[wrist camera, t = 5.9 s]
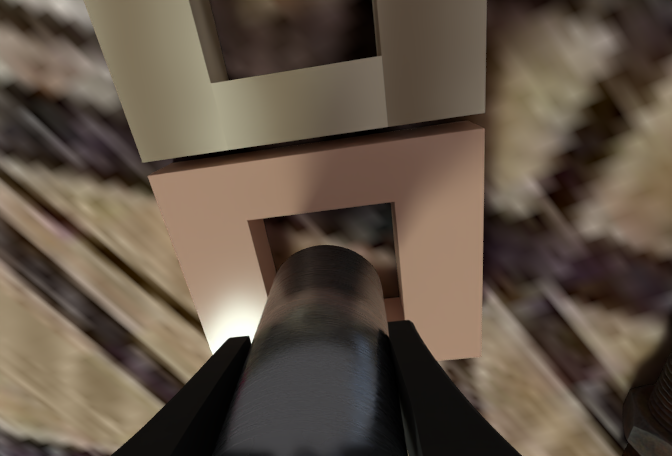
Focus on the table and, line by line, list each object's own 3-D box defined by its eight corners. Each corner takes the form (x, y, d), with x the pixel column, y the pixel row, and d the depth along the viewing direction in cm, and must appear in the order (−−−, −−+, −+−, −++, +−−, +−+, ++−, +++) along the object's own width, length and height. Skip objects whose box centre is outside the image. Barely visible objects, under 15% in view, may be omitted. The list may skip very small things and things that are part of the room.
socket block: (467, 120, 14) (484, 128, 12) (467, 327, 18) (481, 356, 16) (172, 162, 15) (147, 175, 13) (234, 349, 19) (221, 379, 17)
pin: (376, 238, 12) (406, 422, 6) (387, 332, 14) (420, 558, 7) (261, 252, 13) (172, 440, 6) (284, 342, 14) (233, 567, 8)
